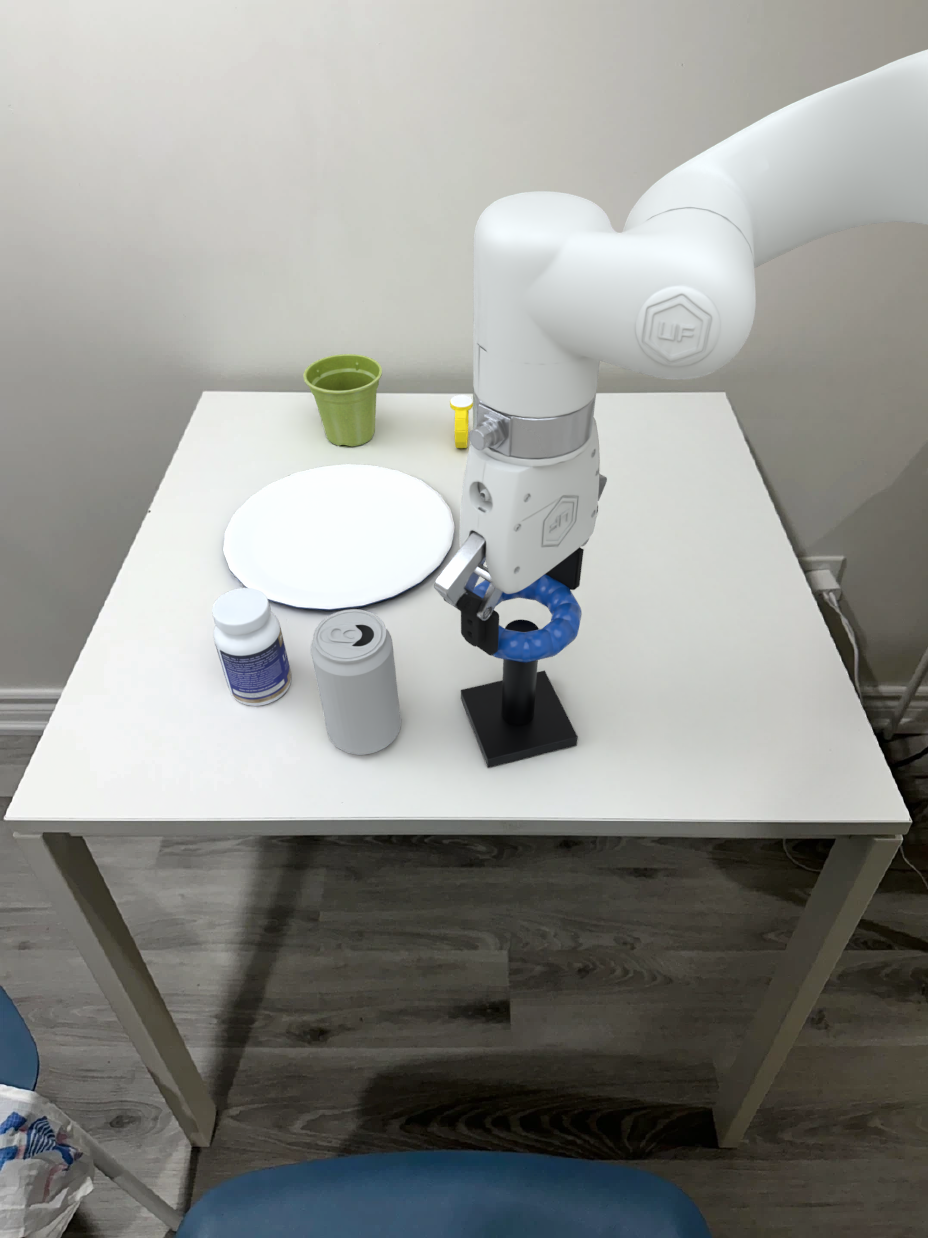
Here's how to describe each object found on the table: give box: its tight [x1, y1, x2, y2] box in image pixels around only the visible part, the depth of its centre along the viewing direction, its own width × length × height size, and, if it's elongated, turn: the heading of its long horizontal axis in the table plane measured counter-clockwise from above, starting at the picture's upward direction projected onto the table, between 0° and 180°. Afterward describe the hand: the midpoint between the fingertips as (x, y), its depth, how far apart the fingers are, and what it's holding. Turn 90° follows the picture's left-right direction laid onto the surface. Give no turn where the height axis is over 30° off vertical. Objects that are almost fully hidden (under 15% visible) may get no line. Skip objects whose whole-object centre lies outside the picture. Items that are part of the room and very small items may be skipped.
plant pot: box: [302, 353, 383, 447], centre depth 105 cm, size 9×9×9 cm
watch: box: [449, 394, 473, 449], centre depth 104 cm, size 6×3×6 cm, turn 177°
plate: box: [222, 463, 456, 611], centre depth 93 cm, size 25×25×1 cm
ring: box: [472, 574, 583, 663], centre depth 65 cm, size 9×9×2 cm
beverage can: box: [310, 608, 402, 756], centre depth 70 cm, size 6×6×12 cm
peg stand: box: [460, 618, 579, 769], centre depth 70 cm, size 8×8×11 cm
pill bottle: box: [211, 587, 292, 707], centre depth 74 cm, size 6×6×10 cm
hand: (521, 611), depth 65 cm, fingers closed on ring, 9 cm apart
